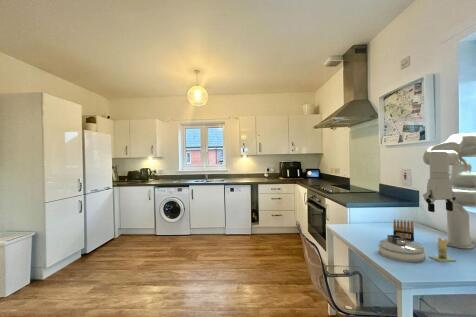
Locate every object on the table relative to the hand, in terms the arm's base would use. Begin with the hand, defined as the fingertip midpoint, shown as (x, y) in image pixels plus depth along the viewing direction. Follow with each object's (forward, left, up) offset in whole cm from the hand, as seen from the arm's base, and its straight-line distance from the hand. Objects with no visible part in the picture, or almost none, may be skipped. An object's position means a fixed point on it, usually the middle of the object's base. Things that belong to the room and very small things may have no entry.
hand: (440, 211), depth 128 cm
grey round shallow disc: (+16, -6, -19) cm, 26 cm away
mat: (+1, +2, -23) cm, 23 cm away
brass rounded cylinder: (+1, +2, -22) cm, 22 cm away
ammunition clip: (-4, -30, -23) cm, 38 cm away
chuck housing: (+16, -6, -23) cm, 29 cm away
